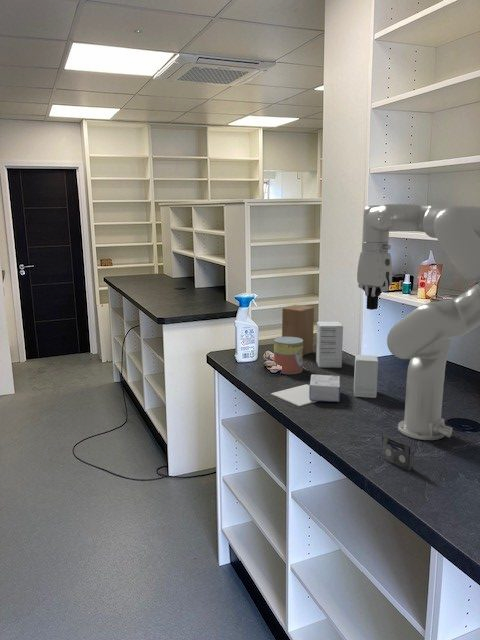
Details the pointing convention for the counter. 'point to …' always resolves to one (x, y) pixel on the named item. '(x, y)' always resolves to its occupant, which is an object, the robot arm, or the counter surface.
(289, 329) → the wooden block
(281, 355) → the canned food
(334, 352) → the supplement box
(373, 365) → the supplement box
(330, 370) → the counter surface
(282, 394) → the mat
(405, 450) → the mini dv tape
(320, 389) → the ink cartridge box
